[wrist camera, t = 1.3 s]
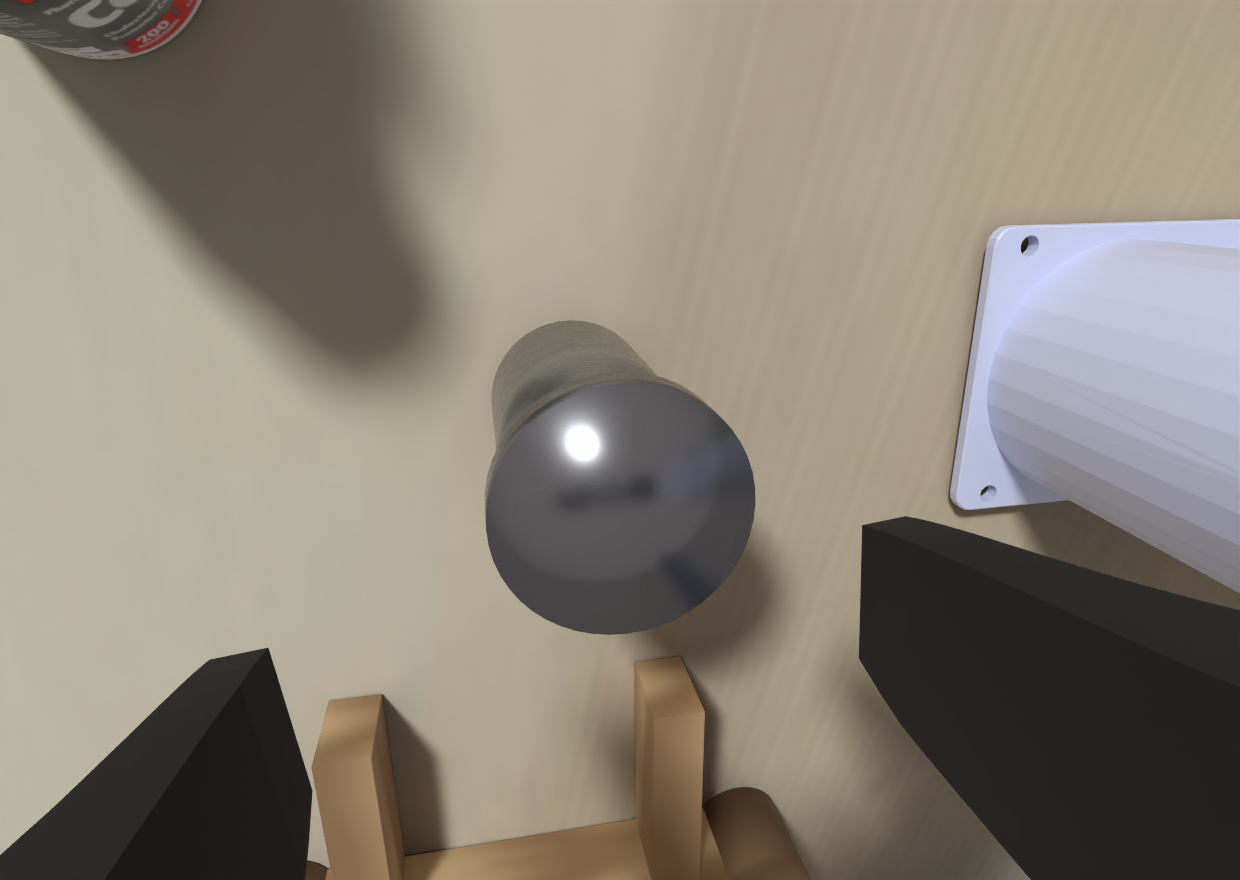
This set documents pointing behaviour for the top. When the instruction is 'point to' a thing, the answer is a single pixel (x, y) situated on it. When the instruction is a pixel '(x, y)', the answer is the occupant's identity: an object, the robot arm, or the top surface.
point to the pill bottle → (96, 25)
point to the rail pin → (609, 485)
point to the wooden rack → (571, 859)
